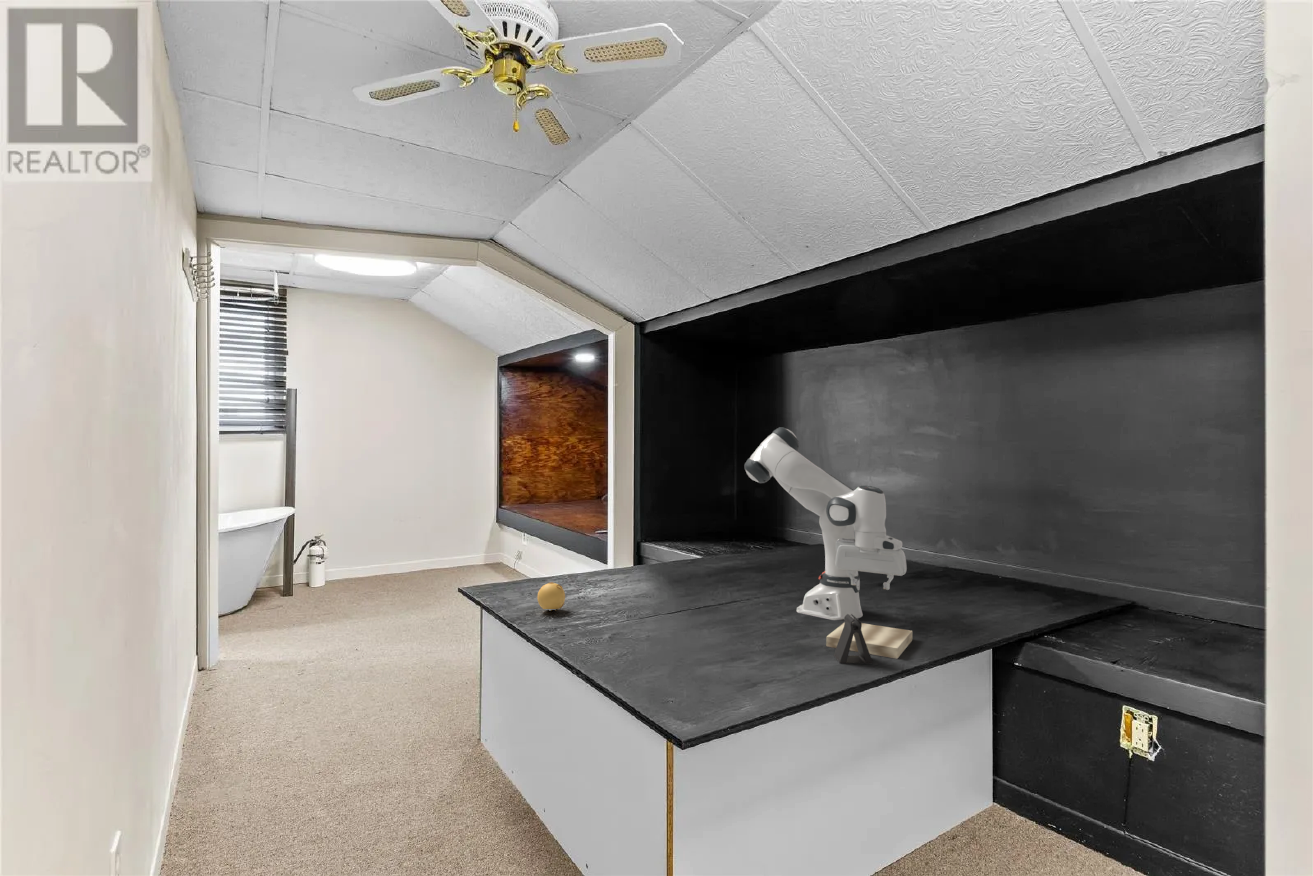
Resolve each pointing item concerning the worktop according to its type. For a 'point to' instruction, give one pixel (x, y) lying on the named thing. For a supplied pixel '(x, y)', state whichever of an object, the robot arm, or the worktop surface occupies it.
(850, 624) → the phone stand
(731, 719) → the worktop surface
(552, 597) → the stress ball
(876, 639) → the birch plinth
